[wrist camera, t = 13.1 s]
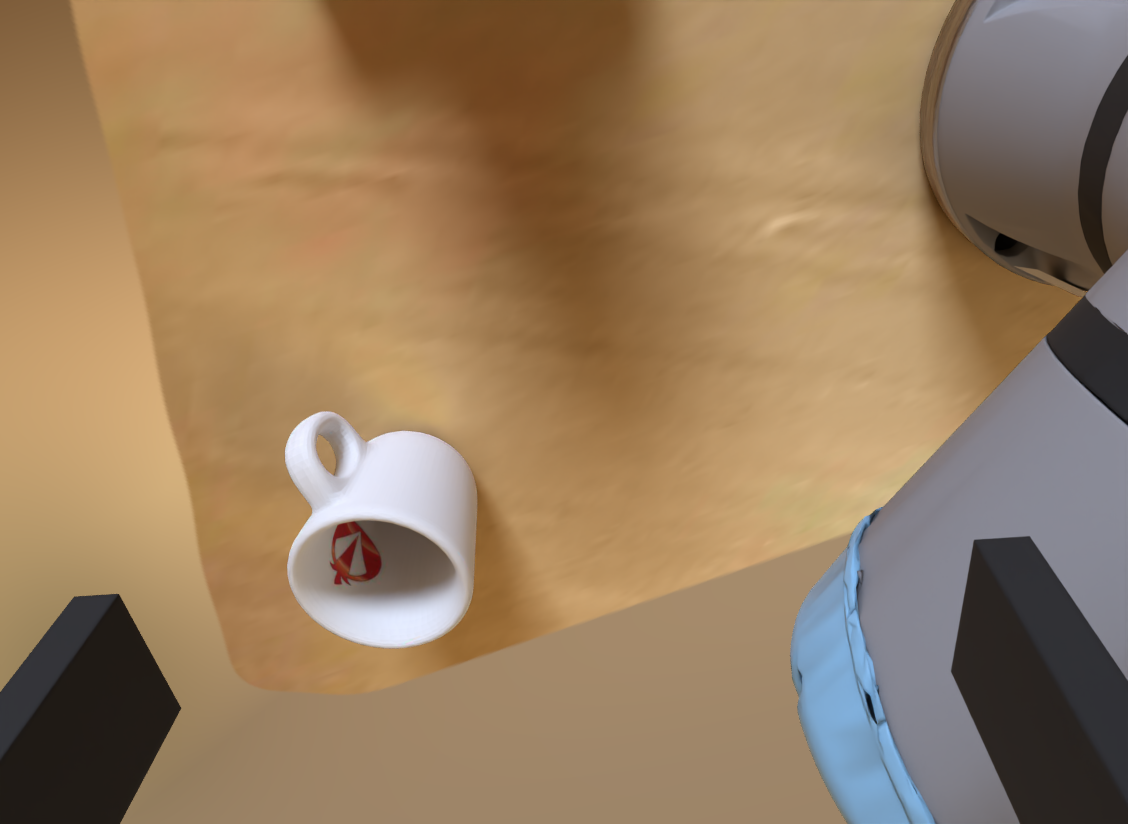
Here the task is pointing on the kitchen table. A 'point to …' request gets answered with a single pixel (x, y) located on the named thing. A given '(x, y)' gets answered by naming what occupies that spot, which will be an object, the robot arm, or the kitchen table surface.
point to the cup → (382, 534)
